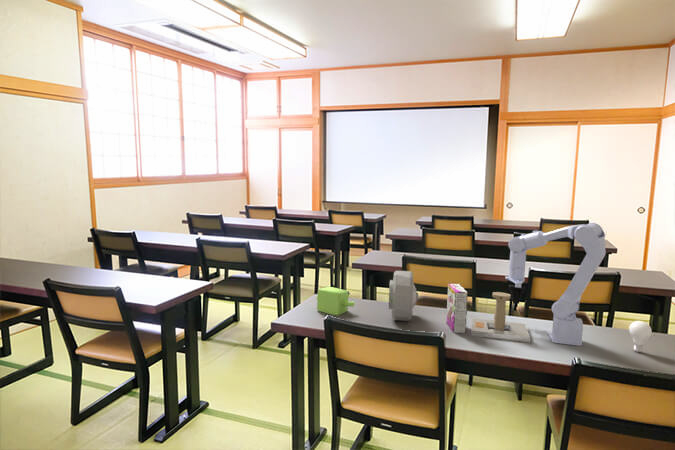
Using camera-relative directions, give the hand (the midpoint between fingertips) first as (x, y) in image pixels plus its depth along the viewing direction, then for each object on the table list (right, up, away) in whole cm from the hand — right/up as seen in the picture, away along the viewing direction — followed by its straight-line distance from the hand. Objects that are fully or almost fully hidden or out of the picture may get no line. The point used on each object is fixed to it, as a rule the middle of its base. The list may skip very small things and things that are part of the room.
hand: (514, 300), depth 171 cm
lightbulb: (+34, -14, -21) cm, 42 cm away
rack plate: (-8, -11, -6) cm, 15 cm away
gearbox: (-71, -8, +16) cm, 73 cm away
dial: (-43, -9, +7) cm, 45 cm away
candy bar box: (-24, -11, -2) cm, 26 cm away
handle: (-8, -11, -6) cm, 15 cm away
